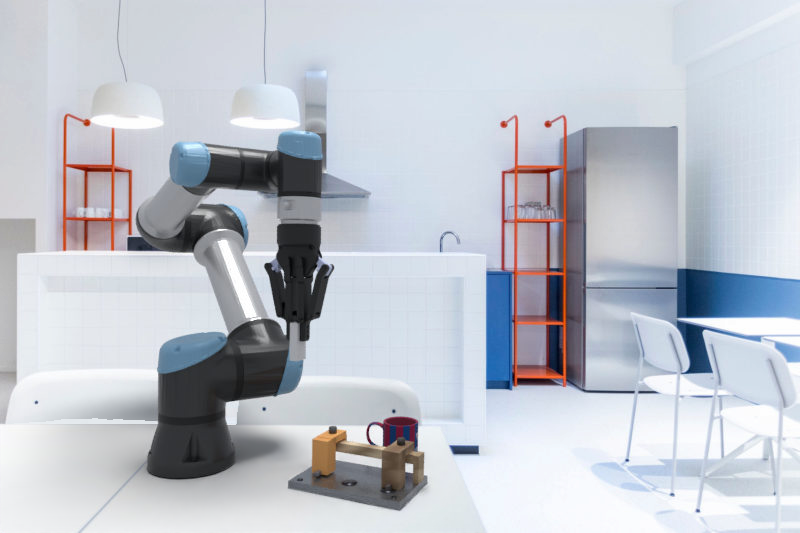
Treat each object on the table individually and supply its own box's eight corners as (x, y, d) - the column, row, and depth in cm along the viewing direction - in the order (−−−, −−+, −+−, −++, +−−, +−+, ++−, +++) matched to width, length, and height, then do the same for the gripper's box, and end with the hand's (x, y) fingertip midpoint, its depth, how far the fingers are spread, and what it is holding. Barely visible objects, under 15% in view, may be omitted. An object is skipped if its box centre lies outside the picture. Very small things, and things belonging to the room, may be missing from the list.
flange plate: (288, 487, 100) (288, 480, 100) (324, 464, 111) (325, 457, 111) (399, 510, 92) (399, 501, 92) (427, 482, 103) (427, 475, 103)
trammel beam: (298, 474, 102) (298, 434, 102) (321, 460, 110) (321, 422, 109) (407, 495, 95) (408, 451, 94) (424, 478, 102) (425, 437, 101)
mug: (412, 464, 112) (413, 427, 112) (361, 458, 115) (362, 422, 114) (421, 452, 118) (421, 418, 118) (372, 447, 121) (373, 413, 121)
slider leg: (308, 474, 102) (308, 434, 101) (331, 460, 109) (332, 422, 109) (323, 477, 100) (324, 437, 100) (346, 462, 108) (346, 424, 108)
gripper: (254, 222, 103) (253, 360, 104) (321, 221, 98) (319, 366, 99) (279, 224, 110) (278, 353, 111) (343, 224, 105) (341, 359, 105)
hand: (297, 359), depth 105 cm, fingers closed
